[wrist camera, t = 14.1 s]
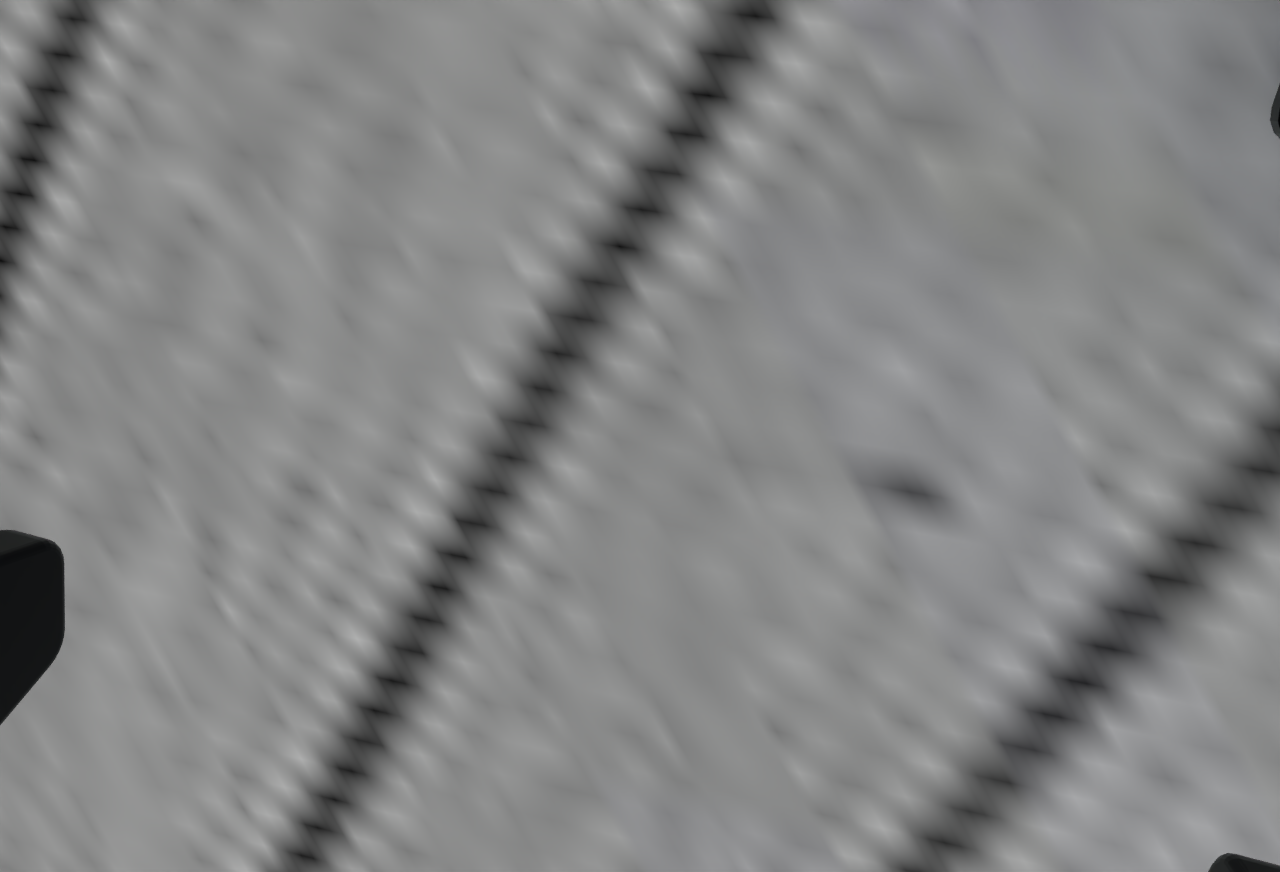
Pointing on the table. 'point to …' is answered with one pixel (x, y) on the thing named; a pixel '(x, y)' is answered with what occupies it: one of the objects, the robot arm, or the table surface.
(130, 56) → the table surface
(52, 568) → the robot arm
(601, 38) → the table surface
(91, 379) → the table surface
